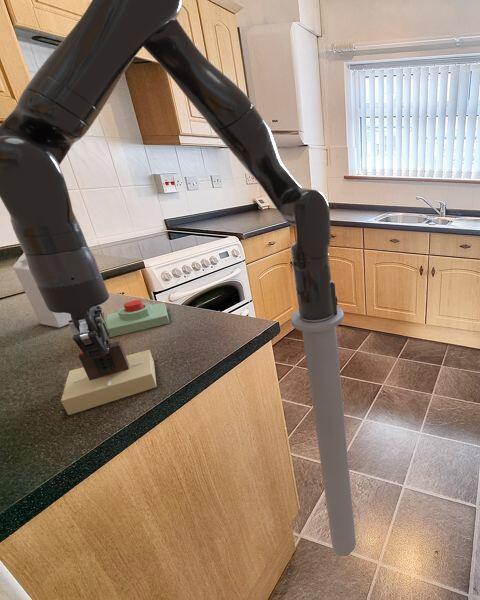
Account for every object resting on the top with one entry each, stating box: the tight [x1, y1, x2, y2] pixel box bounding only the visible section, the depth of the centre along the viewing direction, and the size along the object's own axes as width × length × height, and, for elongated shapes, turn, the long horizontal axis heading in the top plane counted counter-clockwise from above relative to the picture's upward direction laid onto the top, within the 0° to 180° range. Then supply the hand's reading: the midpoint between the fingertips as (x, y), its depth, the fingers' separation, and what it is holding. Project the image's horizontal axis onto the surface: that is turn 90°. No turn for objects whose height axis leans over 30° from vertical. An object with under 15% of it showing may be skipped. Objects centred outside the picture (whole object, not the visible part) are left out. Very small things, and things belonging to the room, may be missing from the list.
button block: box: [105, 302, 170, 339], centre depth 83 cm, size 12×10×4 cm
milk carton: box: [12, 252, 72, 328], centre depth 82 cm, size 7×7×19 cm
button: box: [123, 299, 144, 312], centre depth 82 cm, size 4×4×2 cm
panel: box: [60, 349, 157, 416], centre depth 61 cm, size 12×10×3 cm
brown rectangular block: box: [77, 340, 129, 380], centre depth 59 cm, size 6×2×5 cm, turn 126°
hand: (108, 368), depth 60 cm, fingers closed on brown rectangular block, 2 cm apart
